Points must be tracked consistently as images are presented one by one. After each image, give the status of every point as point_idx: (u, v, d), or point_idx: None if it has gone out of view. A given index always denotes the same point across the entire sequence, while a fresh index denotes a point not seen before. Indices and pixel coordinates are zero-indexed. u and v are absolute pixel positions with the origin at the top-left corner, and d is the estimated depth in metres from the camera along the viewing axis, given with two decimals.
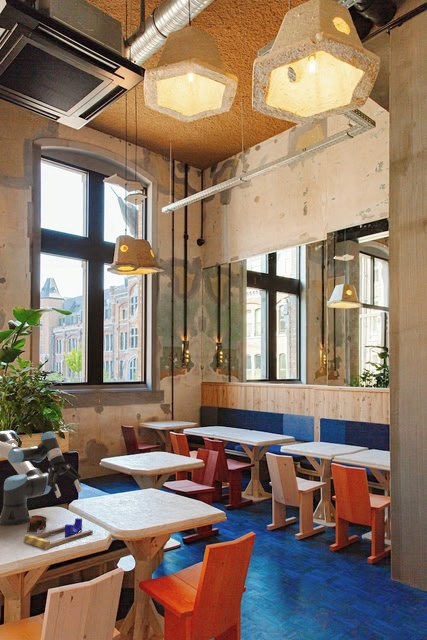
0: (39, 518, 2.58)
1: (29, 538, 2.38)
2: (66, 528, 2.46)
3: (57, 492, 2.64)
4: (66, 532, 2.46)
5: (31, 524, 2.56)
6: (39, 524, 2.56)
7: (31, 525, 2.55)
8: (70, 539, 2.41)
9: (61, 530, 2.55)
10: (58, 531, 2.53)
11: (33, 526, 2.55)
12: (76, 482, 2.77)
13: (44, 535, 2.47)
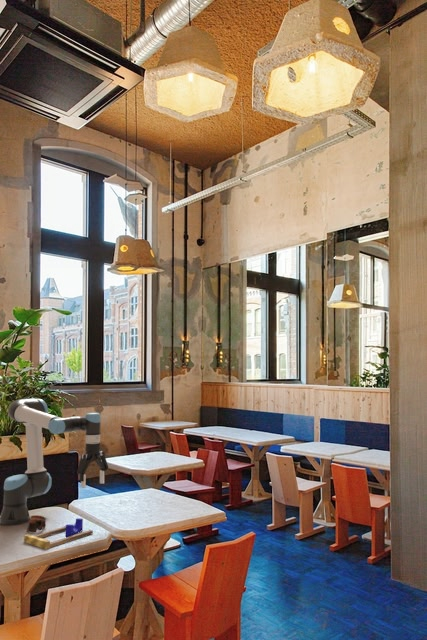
0: (38, 518, 2.58)
1: (29, 538, 2.38)
2: (67, 528, 2.46)
3: (83, 483, 2.59)
4: (67, 532, 2.46)
5: (30, 524, 2.55)
6: (38, 524, 2.56)
7: (30, 525, 2.55)
8: (70, 539, 2.41)
9: (61, 530, 2.55)
10: (58, 531, 2.53)
11: (33, 527, 2.55)
12: (101, 473, 2.69)
13: (44, 535, 2.47)
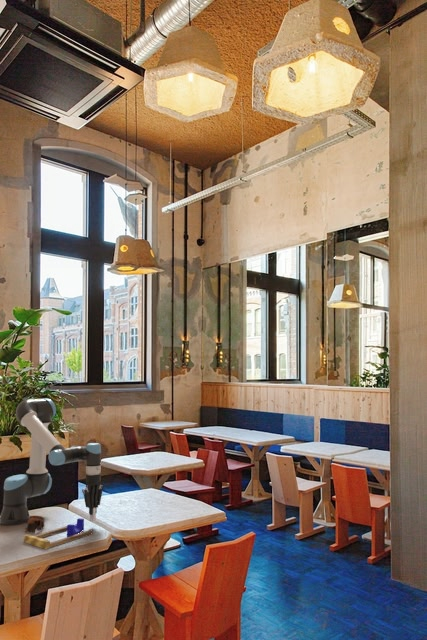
0: (37, 518, 2.57)
1: (29, 538, 2.38)
2: (68, 528, 2.46)
3: (92, 516, 2.62)
4: (68, 532, 2.46)
5: (29, 524, 2.55)
6: (37, 524, 2.55)
7: (29, 525, 2.55)
8: (70, 539, 2.41)
9: (61, 530, 2.55)
10: (58, 531, 2.53)
11: (31, 527, 2.54)
12: None
13: (44, 535, 2.47)
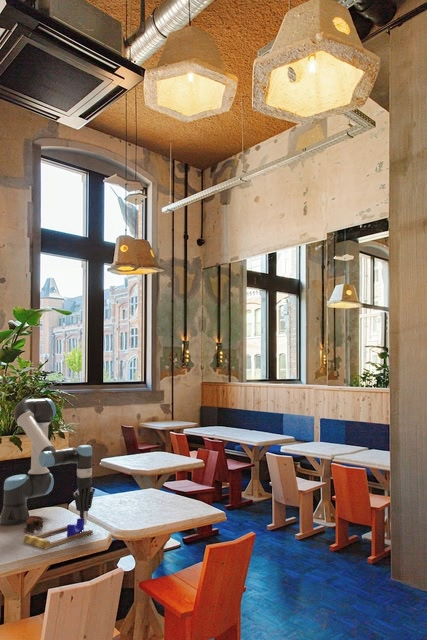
0: (36, 518, 2.57)
1: (29, 538, 2.38)
2: (68, 528, 2.46)
3: None
4: (68, 532, 2.46)
5: (28, 525, 2.55)
6: (36, 525, 2.55)
7: (28, 526, 2.54)
8: (70, 539, 2.41)
9: (61, 530, 2.55)
10: (58, 531, 2.53)
11: (30, 527, 2.54)
12: None
13: (44, 535, 2.47)
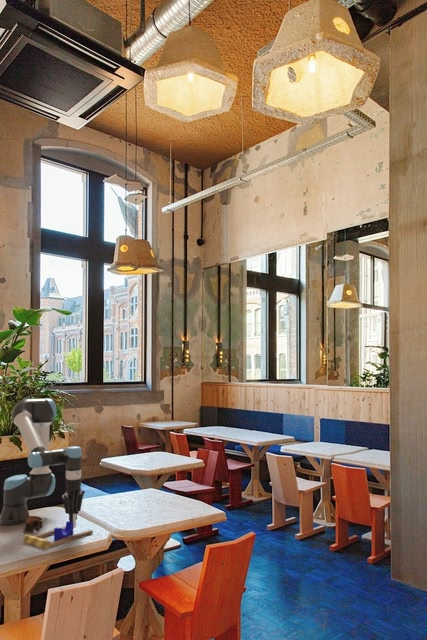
0: (35, 519, 2.57)
1: (29, 538, 2.38)
2: (55, 531, 2.40)
3: None
4: (55, 535, 2.40)
5: (27, 525, 2.54)
6: (35, 525, 2.55)
7: (27, 526, 2.54)
8: (70, 539, 2.41)
9: None
10: None
11: (29, 527, 2.54)
12: None
13: (44, 535, 2.47)
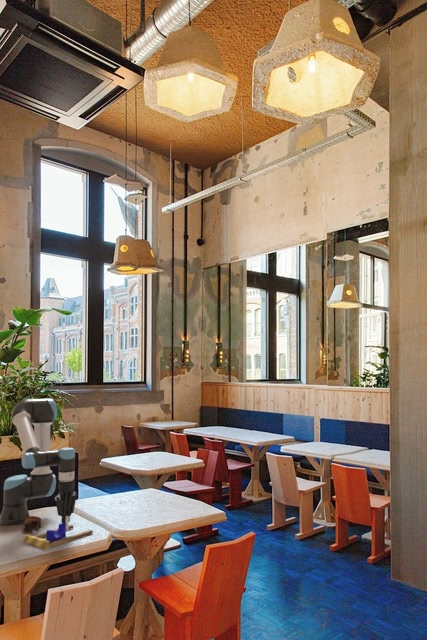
0: (34, 519, 2.57)
1: (29, 538, 2.38)
2: (47, 534, 2.37)
3: None
4: (47, 538, 2.37)
5: (26, 525, 2.54)
6: (34, 525, 2.55)
7: (26, 526, 2.54)
8: (70, 539, 2.41)
9: None
10: None
11: (28, 527, 2.54)
12: None
13: (44, 535, 2.47)
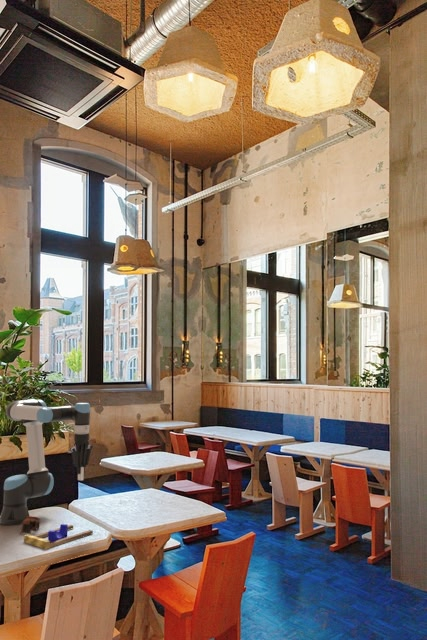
0: (32, 519, 2.56)
1: (29, 538, 2.38)
2: (49, 534, 2.37)
3: (80, 476, 2.60)
4: (49, 539, 2.37)
5: (24, 525, 2.54)
6: (33, 525, 2.54)
7: (24, 526, 2.53)
8: (70, 539, 2.41)
9: None
10: None
11: (27, 528, 2.53)
12: None
13: (44, 535, 2.47)
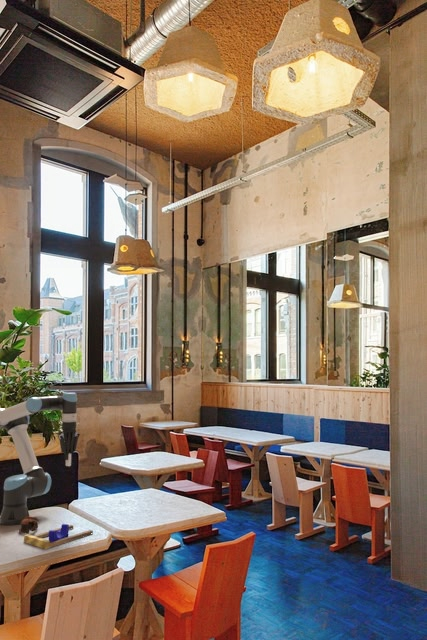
0: (31, 519, 2.56)
1: (29, 538, 2.38)
2: (50, 534, 2.37)
3: (67, 462, 2.74)
4: (50, 538, 2.37)
5: (23, 525, 2.53)
6: (31, 525, 2.54)
7: (23, 526, 2.53)
8: (70, 539, 2.41)
9: None
10: None
11: (25, 528, 2.53)
12: None
13: (44, 535, 2.47)
